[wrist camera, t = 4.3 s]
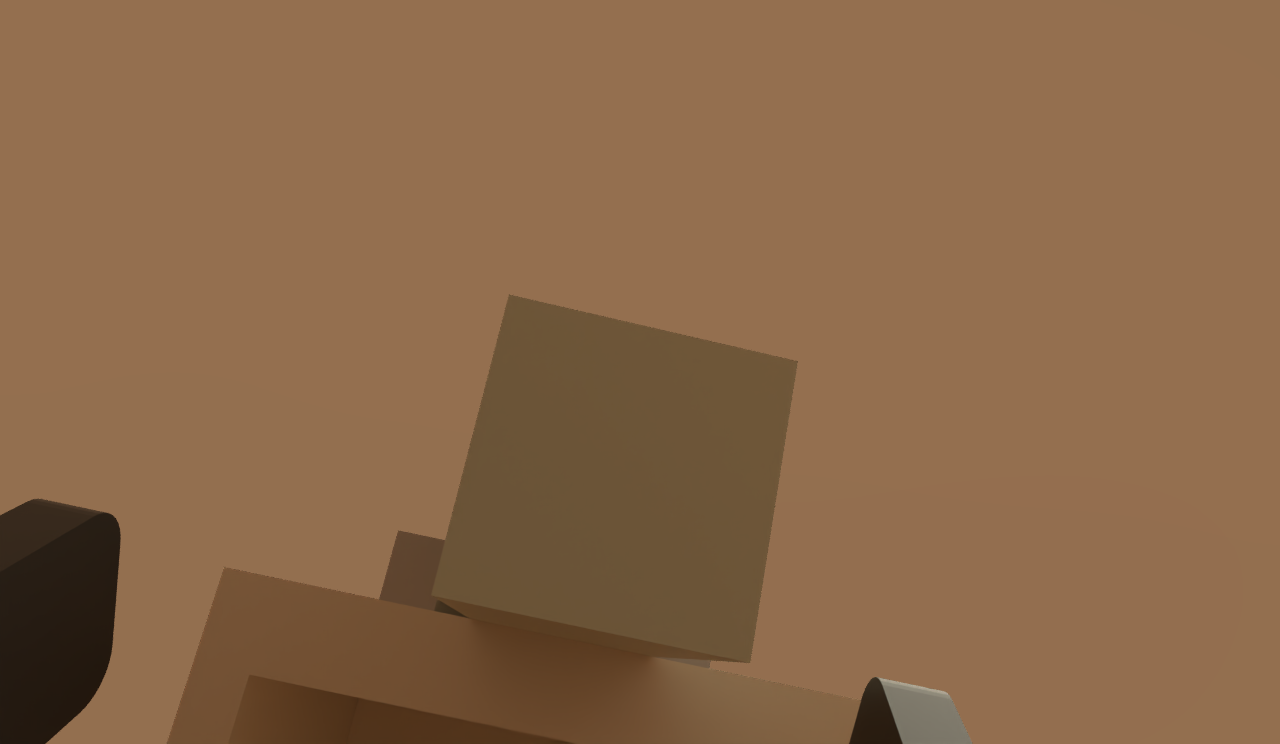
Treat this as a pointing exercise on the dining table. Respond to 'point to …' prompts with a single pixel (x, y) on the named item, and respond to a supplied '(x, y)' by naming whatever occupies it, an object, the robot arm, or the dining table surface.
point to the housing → (457, 676)
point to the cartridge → (619, 486)
